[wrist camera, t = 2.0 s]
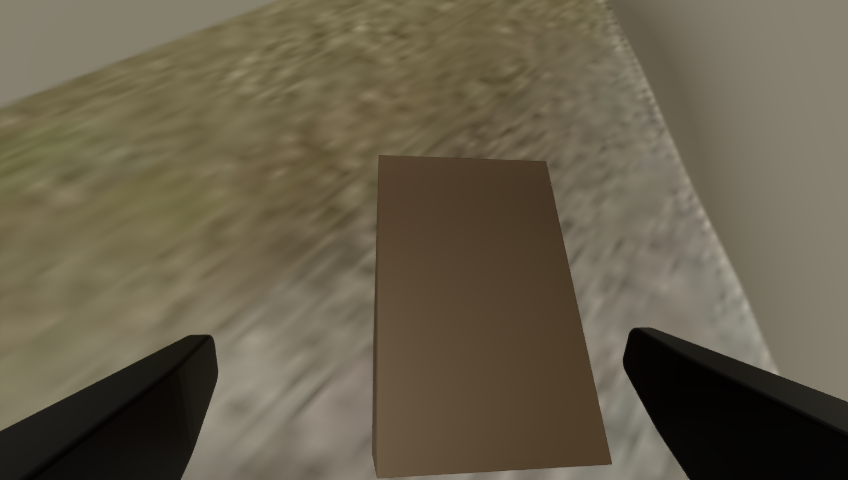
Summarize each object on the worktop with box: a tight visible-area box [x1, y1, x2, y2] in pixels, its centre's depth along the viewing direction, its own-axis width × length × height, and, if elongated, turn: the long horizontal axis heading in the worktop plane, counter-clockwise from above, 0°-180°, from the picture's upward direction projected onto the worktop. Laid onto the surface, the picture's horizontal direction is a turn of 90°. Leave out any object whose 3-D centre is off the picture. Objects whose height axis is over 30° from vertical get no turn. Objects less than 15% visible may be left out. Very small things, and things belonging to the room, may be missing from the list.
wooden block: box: [372, 155, 612, 478], centre depth 10 cm, size 4×2×12 cm, turn 3°
